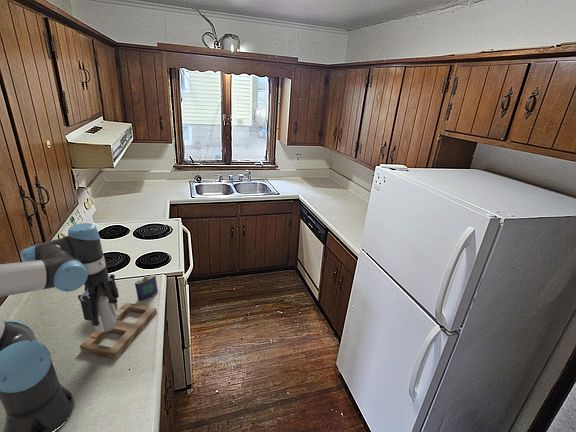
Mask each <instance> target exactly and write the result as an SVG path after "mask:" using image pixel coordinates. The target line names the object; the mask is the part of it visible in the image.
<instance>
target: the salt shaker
mask: <svg viewBox="0 0 576 432" xmlns="http://www.w3.org/2000/svg"><path fill="white" fill-rule="evenodd" d="M108 303H109V300H108V297H106V296H100V298H99V302H98V316H101V320H102V324H103V327H104V331H103V332H108V331H111V330H112V329H113V328H114V327H115V323H116V319H115V317H114V315H113V313H112V311H111V310H110V308H109V306H108Z"/></svg>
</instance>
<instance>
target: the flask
mask: <svg viewBox="0 0 576 432" xmlns="http://www.w3.org/2000/svg"><path fill="white" fill-rule="evenodd" d="M156 276H157V275H156V274H150V275H149V276H147V274H145V275H144V277H142V279H138V280H137V281H135V283H134V285H135V291H136V295H137V300H138V301H139V302H143V301H145V300H147V299H149V298H151V297H152V296H154V295H157V294H158V292H159V290H158V284H157V282H158V281H157V278H156Z"/></svg>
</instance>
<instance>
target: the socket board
mask: <svg viewBox="0 0 576 432" xmlns="http://www.w3.org/2000/svg"><path fill="white" fill-rule="evenodd" d="M157 310H158V309H157V307H153V306H147V305H142V304H137V303H130V302H125V303H124V304H122V306H120V308H118V309H116V313H117V319H116V323H115V327H114V328H113V329H112V330H111V331H108V332H99V331H96V330H95V331H94V332H92V333H91V335H90V336H89V337H87V339H85V340H84V341H83V342H82V343H81V344H80V345H79V348H80V352H83V353H86V352H87V354H92V355H97V356H100V355H101V357H105V356H106V357H105V358H110V357H111V359H114V358H117V357H120V355H121V354H123V352H124V351H125V350H126V349H125V348H127V347H128V346H129V345H130V344H131V343H132V342H133V341H134V339H135V338H136V337H137V336H138V335H139V334H140V333H141V331H142V330H143V329H144V328H145V327H146V326H147V325H148V324H149V323H150V321H151V320H152V319H153V318H154V317H155V316H156V315H157V313H158V311H157ZM129 313H134V314H135V313H136V314H141V316H139V317H138V319H137V320H135V321H134V323H132V322H128V321H124V318H125V317H126V316H128V315H129ZM139 332H140V333H139ZM109 333H110V334H115V335H116V334H117V335H121V336H120V338H118V340H117V341H116V342H115V343H114V344H113V345H112V346H106V345H103V344H102V345H101V344H99V343H100V342H101V341H102V340H103V339H104V338H105V337H106V336H107V335H108V334H109ZM124 349H125V350H124ZM117 359H118V358H117Z"/></svg>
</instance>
